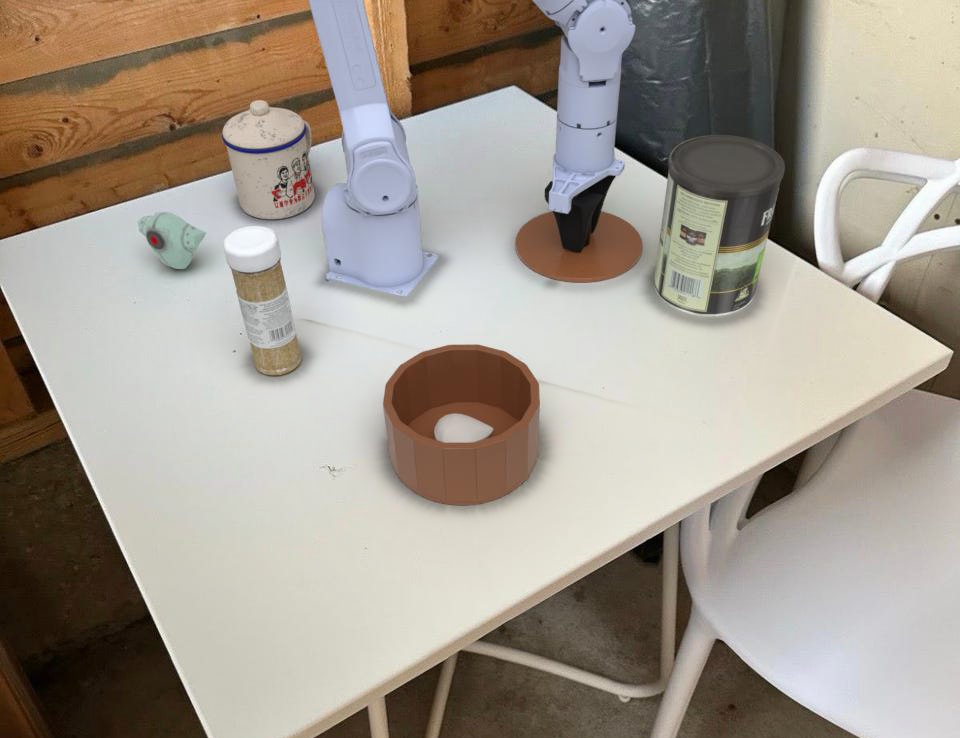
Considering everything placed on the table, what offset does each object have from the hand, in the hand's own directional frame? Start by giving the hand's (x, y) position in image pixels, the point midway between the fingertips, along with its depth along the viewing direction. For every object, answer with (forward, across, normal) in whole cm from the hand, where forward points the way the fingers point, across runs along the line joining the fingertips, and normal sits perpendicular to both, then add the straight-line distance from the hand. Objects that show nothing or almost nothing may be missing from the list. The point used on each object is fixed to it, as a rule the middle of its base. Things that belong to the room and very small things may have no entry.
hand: (578, 239), depth 98 cm
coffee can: (+2, -2, -14) cm, 14 cm away
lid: (+1, 0, 0) cm, 1 cm away
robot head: (+2, -19, +38) cm, 43 cm away
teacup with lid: (+2, -2, +36) cm, 36 cm away
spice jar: (+2, -28, +20) cm, 34 cm away
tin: (+1, -32, -1) cm, 32 cm away
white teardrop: (+1, -32, -1) cm, 32 cm away
